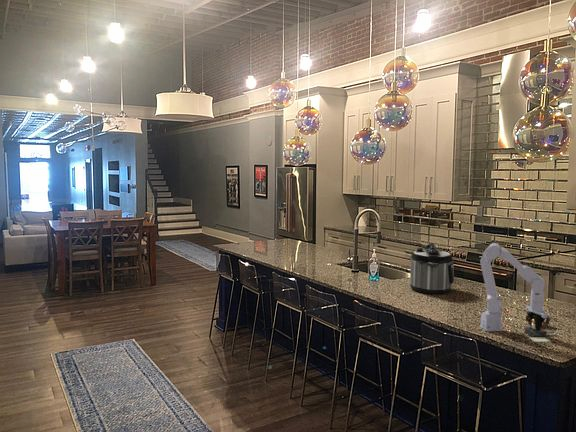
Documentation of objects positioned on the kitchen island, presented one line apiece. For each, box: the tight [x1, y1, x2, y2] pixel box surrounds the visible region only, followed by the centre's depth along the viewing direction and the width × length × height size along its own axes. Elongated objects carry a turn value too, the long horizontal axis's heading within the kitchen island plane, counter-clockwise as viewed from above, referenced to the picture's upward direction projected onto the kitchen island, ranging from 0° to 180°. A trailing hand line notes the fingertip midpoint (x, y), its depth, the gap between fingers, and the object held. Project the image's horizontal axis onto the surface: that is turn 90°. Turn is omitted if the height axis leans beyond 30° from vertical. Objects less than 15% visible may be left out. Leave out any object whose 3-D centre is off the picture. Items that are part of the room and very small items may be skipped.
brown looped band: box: [525, 314, 551, 329], centre depth 252 cm, size 12×9×8 cm
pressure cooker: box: [409, 242, 455, 295], centre depth 324 cm, size 30×28×32 cm
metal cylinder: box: [531, 318, 539, 331], centre depth 237 cm, size 3×3×7 cm
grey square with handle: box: [523, 326, 555, 338], centre depth 237 cm, size 13×7×3 cm, turn 94°
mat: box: [528, 337, 552, 343], centre depth 230 cm, size 8×5×1 cm, turn 94°
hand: (535, 328), depth 237 cm, fingers closed on metal cylinder, 3 cm apart
